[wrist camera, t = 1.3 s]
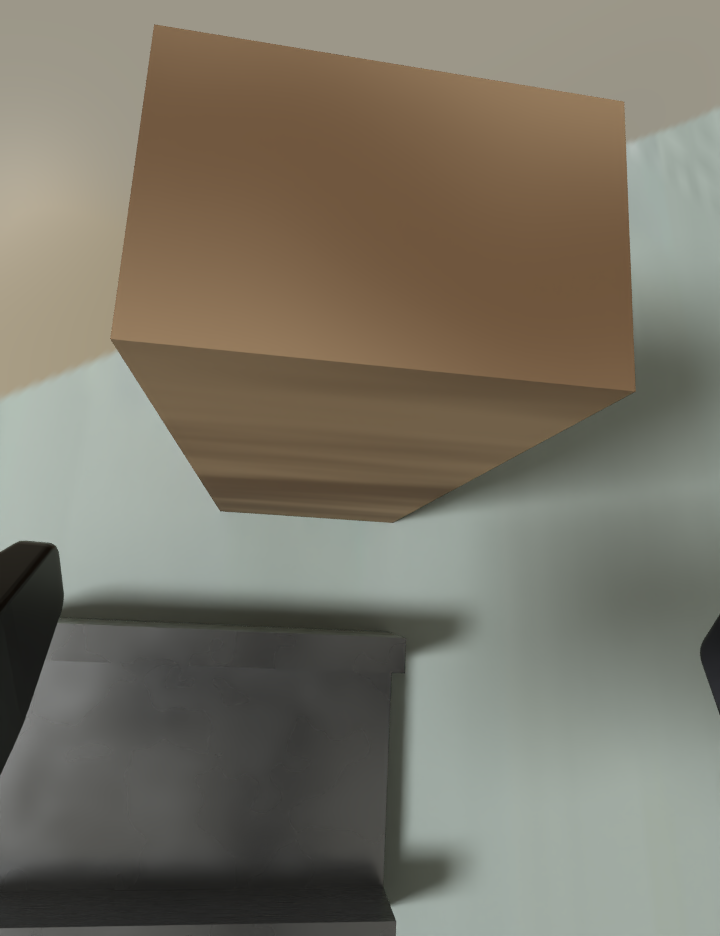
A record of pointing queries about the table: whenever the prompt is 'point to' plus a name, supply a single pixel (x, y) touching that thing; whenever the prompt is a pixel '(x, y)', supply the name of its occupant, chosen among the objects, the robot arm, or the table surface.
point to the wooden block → (367, 272)
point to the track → (200, 783)
